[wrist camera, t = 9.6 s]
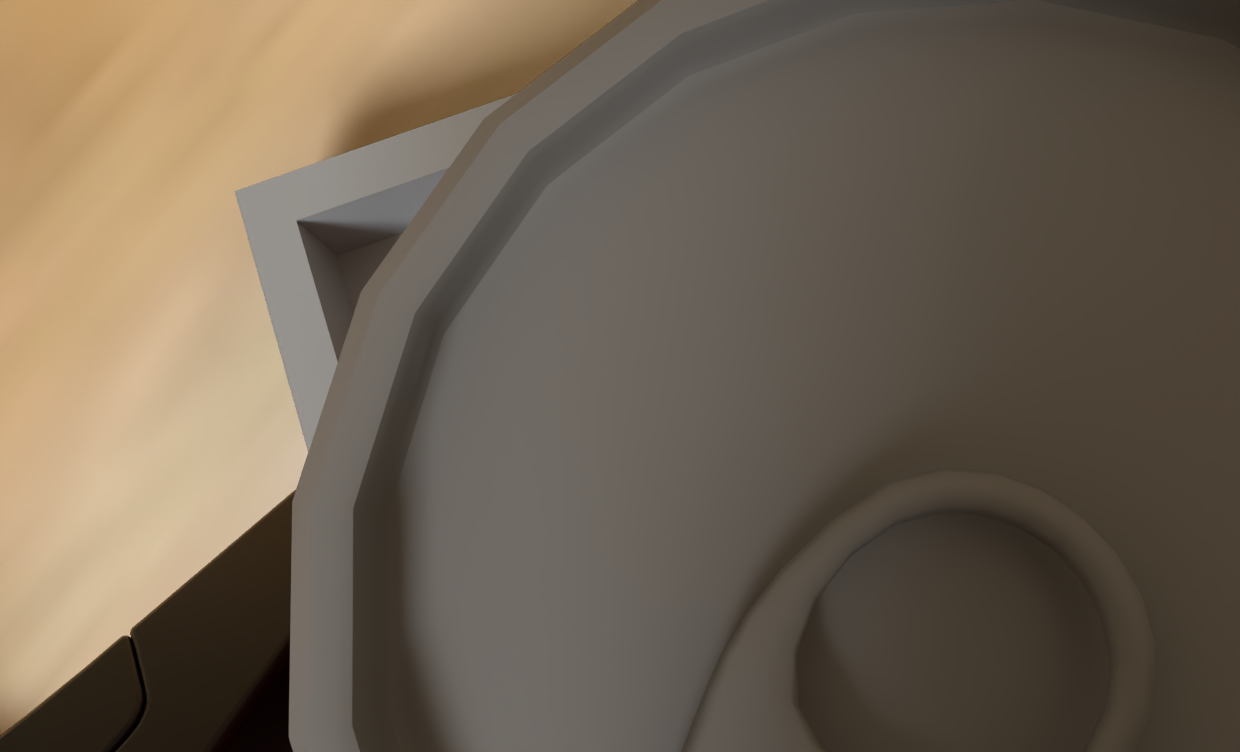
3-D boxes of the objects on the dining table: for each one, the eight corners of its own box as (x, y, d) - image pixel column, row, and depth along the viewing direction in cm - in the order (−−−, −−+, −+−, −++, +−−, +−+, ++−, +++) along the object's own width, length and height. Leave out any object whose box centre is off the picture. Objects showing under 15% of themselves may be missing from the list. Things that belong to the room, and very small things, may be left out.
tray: (1314, 931, 15) (1433, 1002, 13) (570, 1188, 15) (549, 1307, 13) (920, 22, 18) (956, -60, 16) (294, 239, 18) (234, 191, 16)
